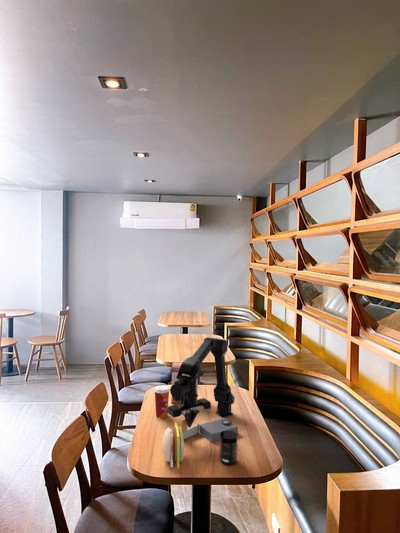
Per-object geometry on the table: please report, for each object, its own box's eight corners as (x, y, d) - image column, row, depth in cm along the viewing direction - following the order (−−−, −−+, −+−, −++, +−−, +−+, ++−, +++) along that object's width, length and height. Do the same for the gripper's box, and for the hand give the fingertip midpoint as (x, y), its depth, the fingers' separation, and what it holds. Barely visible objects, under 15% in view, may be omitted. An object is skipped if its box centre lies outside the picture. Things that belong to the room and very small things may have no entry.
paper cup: (167, 419, 177) (167, 391, 176) (151, 418, 178) (151, 389, 178) (171, 412, 184) (171, 385, 184) (156, 411, 186) (157, 384, 185)
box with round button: (224, 425, 172) (224, 416, 172) (237, 434, 163) (237, 425, 163) (199, 432, 164) (199, 423, 164) (211, 442, 156) (211, 432, 156)
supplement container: (239, 458, 144) (239, 432, 144) (234, 467, 138) (235, 440, 137) (222, 454, 146) (222, 429, 146) (217, 464, 140) (217, 437, 140)
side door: (199, 432, 164) (199, 413, 164) (182, 441, 157) (182, 420, 156) (197, 431, 165) (197, 412, 165) (180, 440, 157) (180, 419, 157)
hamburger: (161, 451, 148) (161, 422, 148) (181, 450, 149) (182, 421, 149) (163, 469, 136) (163, 437, 136) (185, 467, 138) (185, 435, 137)
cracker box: (171, 403, 195) (171, 365, 195) (172, 399, 201) (172, 361, 201) (197, 404, 195) (198, 365, 194) (197, 399, 201) (198, 362, 201)
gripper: (198, 381, 168) (198, 415, 169) (161, 389, 158) (161, 424, 159) (211, 389, 159) (211, 424, 159) (173, 397, 149) (173, 435, 149)
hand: (189, 427), depth 157 cm, fingers closed
